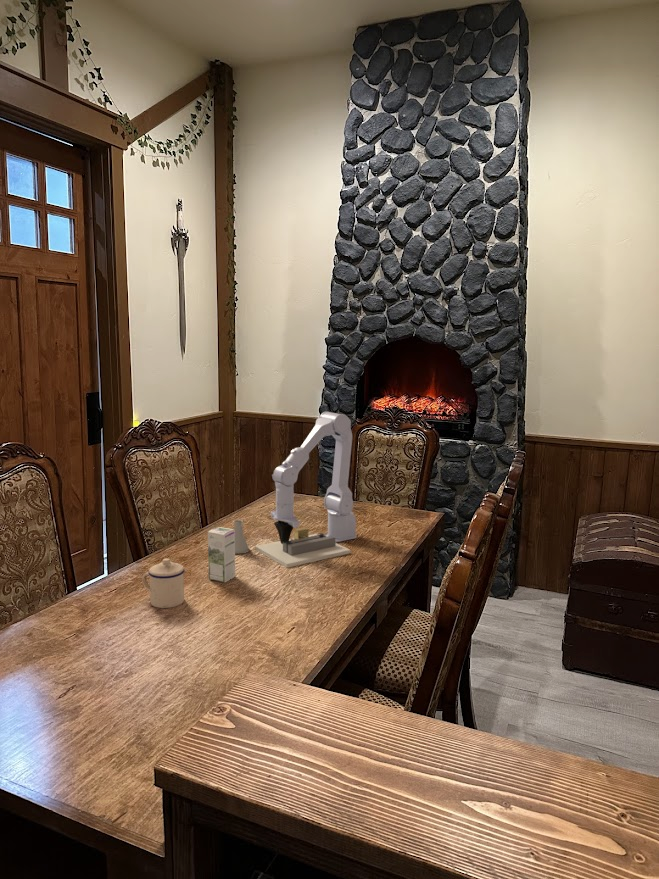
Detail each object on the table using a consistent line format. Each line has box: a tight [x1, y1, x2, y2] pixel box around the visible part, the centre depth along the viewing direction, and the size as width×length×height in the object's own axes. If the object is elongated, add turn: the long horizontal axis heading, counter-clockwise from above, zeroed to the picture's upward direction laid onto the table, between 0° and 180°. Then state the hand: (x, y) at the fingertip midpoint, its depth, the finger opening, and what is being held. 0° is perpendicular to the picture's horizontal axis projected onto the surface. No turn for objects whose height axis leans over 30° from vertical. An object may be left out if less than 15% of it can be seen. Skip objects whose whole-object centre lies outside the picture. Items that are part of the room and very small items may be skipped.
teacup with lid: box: [141, 558, 186, 609], centre depth 168 cm, size 12×9×12 cm
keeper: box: [293, 526, 309, 540], centre depth 214 cm, size 4×2×4 cm, turn 125°
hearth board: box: [254, 533, 351, 569], centre depth 208 cm, size 24×20×4 cm
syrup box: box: [207, 526, 236, 584], centre depth 184 cm, size 6×6×14 cm
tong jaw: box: [283, 532, 326, 553], centre depth 208 cm, size 15×2×4 cm, turn 125°
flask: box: [232, 519, 250, 555], centre depth 208 cm, size 7×7×10 cm
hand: (284, 543), depth 210 cm, fingers closed
